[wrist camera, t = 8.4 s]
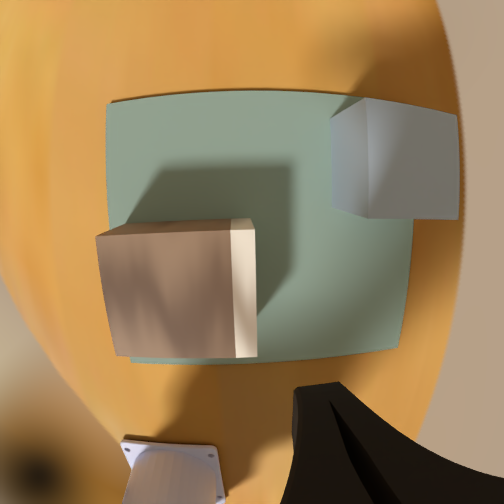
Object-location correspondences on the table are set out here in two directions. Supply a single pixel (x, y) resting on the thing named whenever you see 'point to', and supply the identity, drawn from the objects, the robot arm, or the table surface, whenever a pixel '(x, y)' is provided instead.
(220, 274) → the walnut block
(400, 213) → the gray block
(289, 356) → the felt mat
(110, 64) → the table surface
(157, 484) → the robot arm
